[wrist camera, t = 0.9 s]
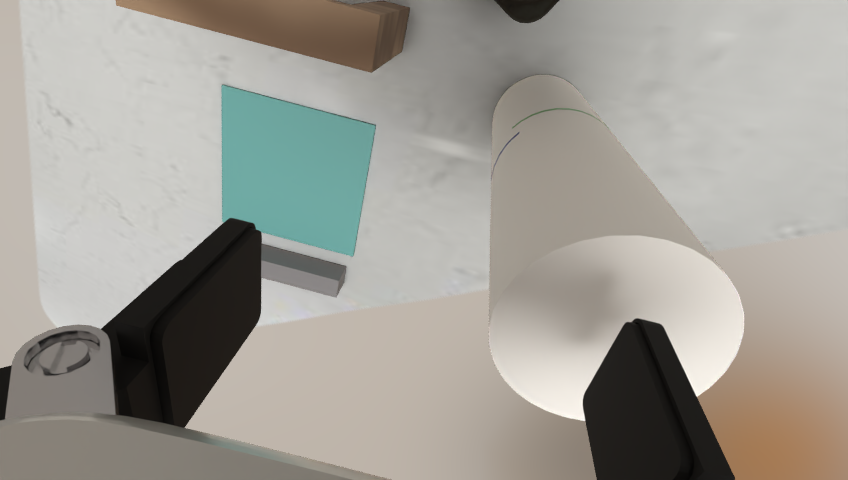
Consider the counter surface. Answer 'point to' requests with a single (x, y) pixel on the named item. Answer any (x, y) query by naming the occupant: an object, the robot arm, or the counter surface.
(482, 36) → the counter surface
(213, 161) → the counter surface
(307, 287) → the wall
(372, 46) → the bridge
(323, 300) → the counter surface
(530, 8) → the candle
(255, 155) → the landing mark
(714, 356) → the cylindrical container
